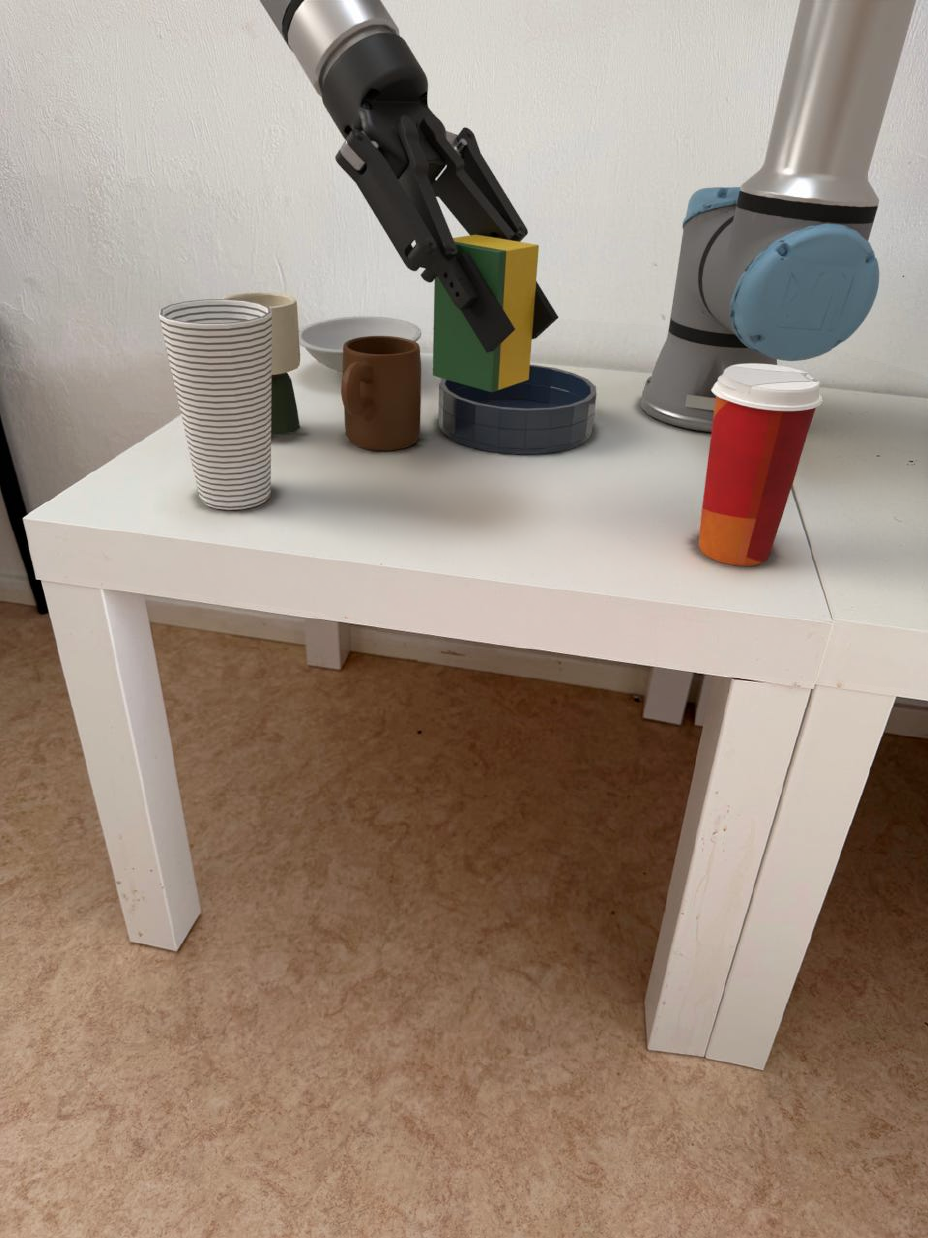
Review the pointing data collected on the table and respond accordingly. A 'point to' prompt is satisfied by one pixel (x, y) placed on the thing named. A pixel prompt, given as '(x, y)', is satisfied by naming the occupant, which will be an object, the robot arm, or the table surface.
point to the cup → (224, 395)
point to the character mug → (281, 357)
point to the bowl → (520, 413)
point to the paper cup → (753, 458)
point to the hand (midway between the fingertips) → (523, 334)
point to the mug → (381, 392)
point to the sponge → (514, 288)
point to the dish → (349, 335)
